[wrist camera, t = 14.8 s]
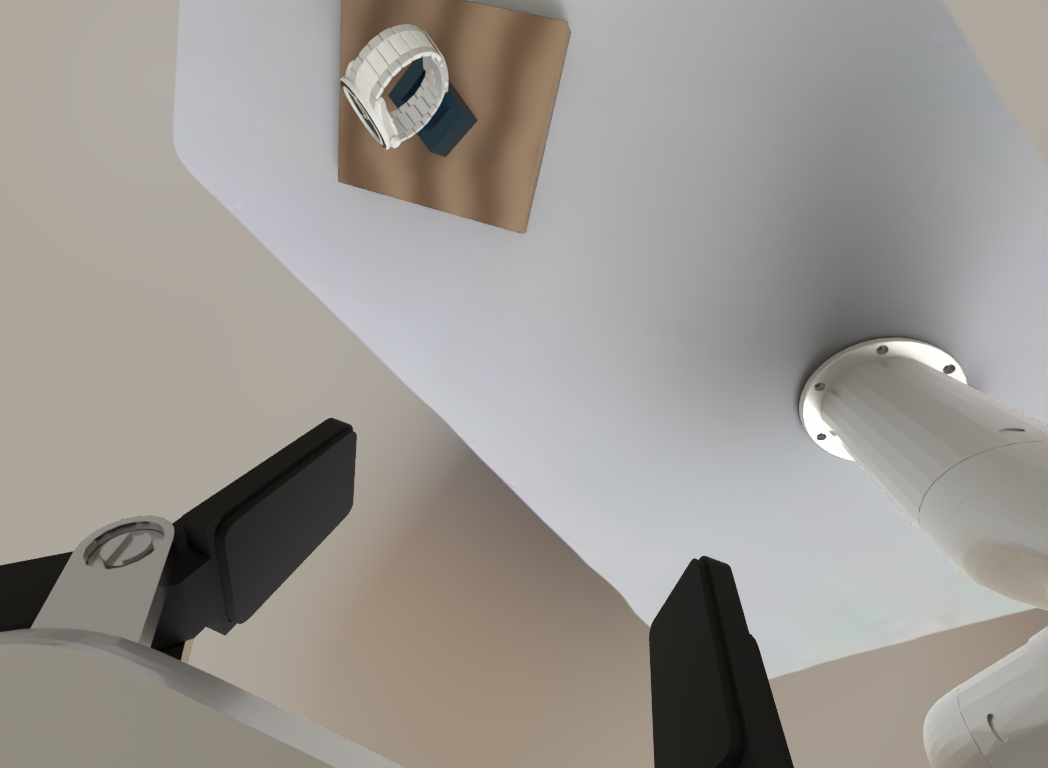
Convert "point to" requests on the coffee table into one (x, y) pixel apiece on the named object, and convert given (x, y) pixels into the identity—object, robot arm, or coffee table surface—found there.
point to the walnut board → (487, 89)
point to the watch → (407, 91)
